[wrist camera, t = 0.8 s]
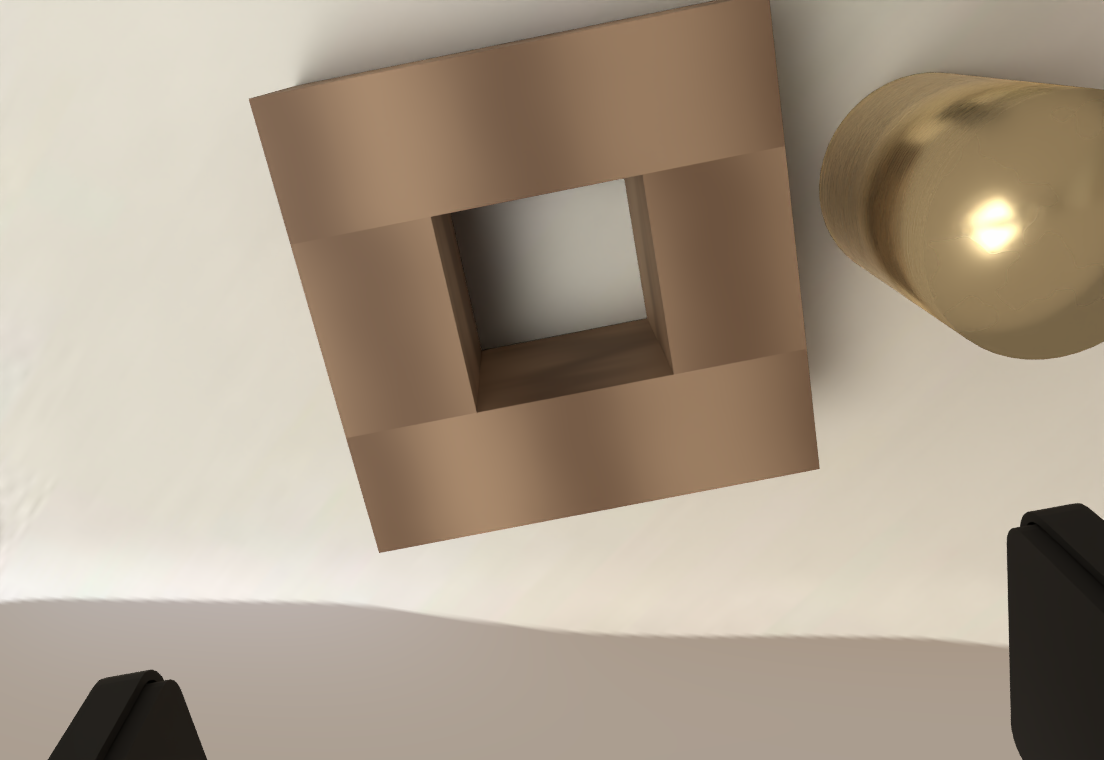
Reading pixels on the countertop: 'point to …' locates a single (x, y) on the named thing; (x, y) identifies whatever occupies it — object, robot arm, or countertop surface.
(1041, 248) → the round bit
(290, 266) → the countertop surface
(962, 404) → the countertop surface
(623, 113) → the bore block
